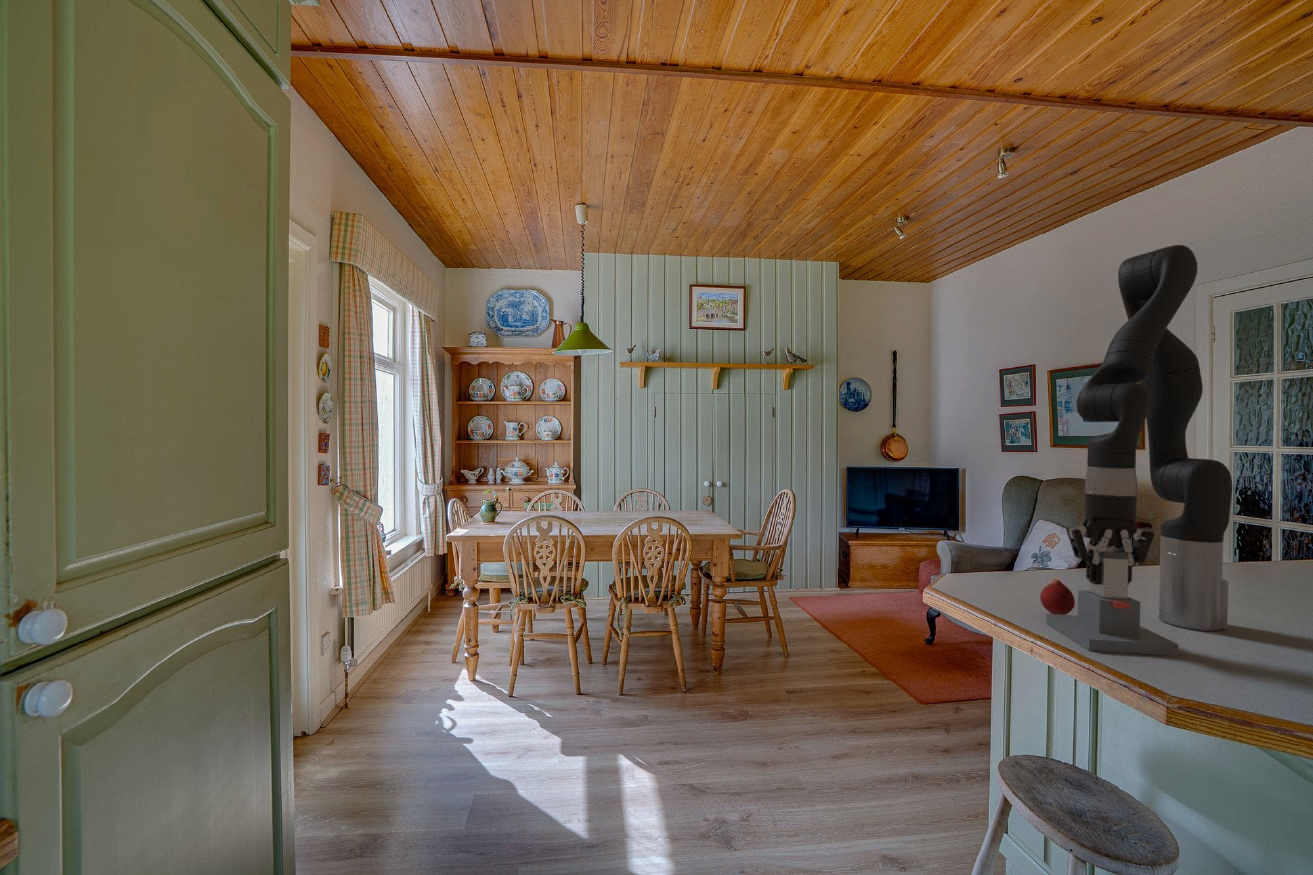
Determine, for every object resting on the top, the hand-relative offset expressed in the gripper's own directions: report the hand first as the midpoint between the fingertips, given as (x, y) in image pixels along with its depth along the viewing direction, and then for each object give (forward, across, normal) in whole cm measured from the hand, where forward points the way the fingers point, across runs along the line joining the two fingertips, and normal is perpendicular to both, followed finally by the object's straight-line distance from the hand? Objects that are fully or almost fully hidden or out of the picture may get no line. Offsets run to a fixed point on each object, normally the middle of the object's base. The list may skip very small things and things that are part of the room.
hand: (1108, 583), depth 106 cm
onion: (+10, +2, -12) cm, 16 cm away
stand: (+10, 0, 0) cm, 10 cm away
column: (+8, 0, 0) cm, 8 cm away
